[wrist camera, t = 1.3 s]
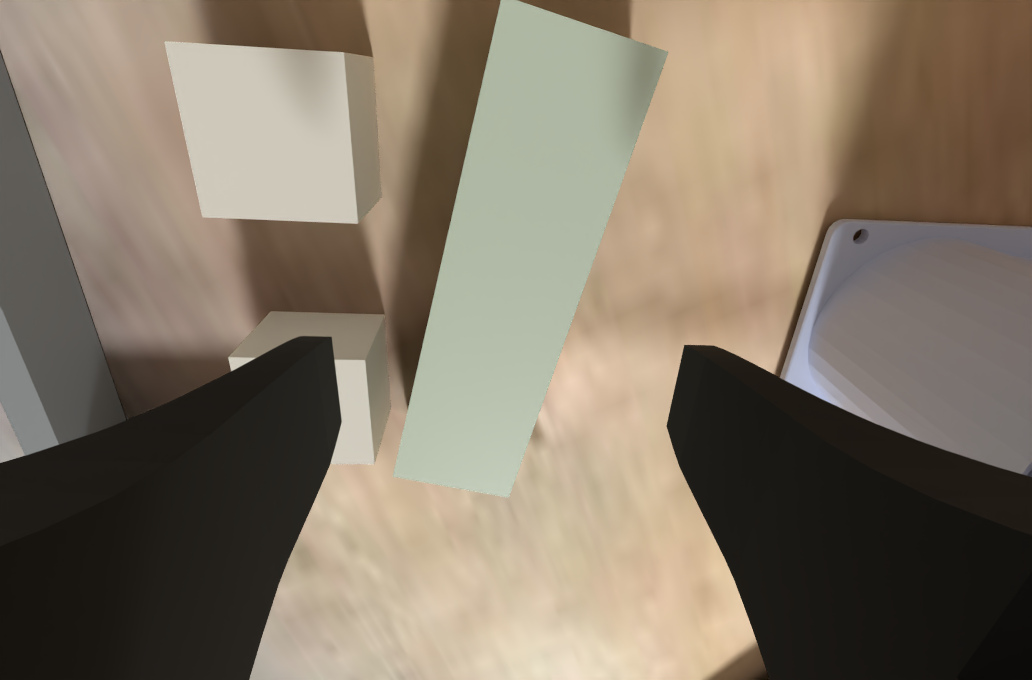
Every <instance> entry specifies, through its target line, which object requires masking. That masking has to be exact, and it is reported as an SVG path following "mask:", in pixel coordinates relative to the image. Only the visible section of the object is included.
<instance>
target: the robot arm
mask: <svg viewBox="0 0 1032 680" xmlns="http://www.w3.org/2000/svg"><path fill="white" fill-rule="evenodd" d="M860 229H861V235H860V236H859V238H857V239H856V240H854V241H853V236H854V234H855V233H856V232H857V231H858V230H860ZM341 423H342V419H341V411H340V402H339V394H338V385H337V377H336V369H335V360H334V352H333V343H332V337H324V336H299V337H296V338H294V339H291V340H289V341H287V342H285V343H283V344H281V345H279V346H277V347H275V348H273V349H272V350H270V351H268V352H266V353H264V354H262V355H261V356H259V357H257V358H255V359H253V360H251V361H249V362H248V363H246V364H244V365H242V366H240V367H238V368H237V369H235V370H233V371H231V372H229V373H227V374H225V375H224V376H222V377H220V378H218V379H216V380H214V381H212V382H210V383H208V384H206V385H203V386H201V387H199V388H197V389H195V390H193V391H191V392H189V393H187V394H185V395H183V396H181V397H179V398H177V399H175V400H173V401H171V402H169V403H166V404H164V405H162V406H160V407H158V408H155V409H153V410H151V411H148V412H146V413H144V414H141V415H139V416H136V417H134V418H131V419H129V420H126V421H124V422H121V423H119V424H116V425H113V426H111V427H108V428H106V429H103V430H100V431H98V432H95V433H92V434H89V435H86V436H83V437H80V438H77V439H74V440H71V441H68V442H65V443H62V444H59V445H56V446H53V447H50V448H47V449H44V450H41V451H38V452H35V453H32V454H29V455H26V456H23V457H20V458H16V459H13V460H10V461H6V462H2V463H0V680H249V678H250V675H251V671H252V668H253V665H254V661H255V658H256V655H257V651H258V648H259V645H260V641H261V638H262V635H263V631H264V628H265V625H266V622H267V619H268V616H269V613H270V610H271V607H272V603H273V600H274V597H275V594H276V591H277V588H278V585H279V582H280V579H281V577H282V574H283V572H284V569H285V567H286V564H287V561H288V559H289V557H290V555H291V552H292V550H293V548H294V546H295V543H296V541H297V539H298V536H299V534H300V532H301V530H302V527H303V525H304V523H305V521H306V518H307V516H308V514H309V512H310V509H311V507H312V505H313V503H314V500H315V498H316V496H317V494H318V491H319V489H320V487H321V484H322V482H323V480H324V477H325V475H326V473H327V470H328V468H329V466H330V463H331V460H332V456H333V453H334V449H335V446H336V442H337V438H338V435H339V431H340V427H341ZM667 429H668V432H669V435H670V439H671V442H672V445H673V449H674V452H675V455H676V458H677V461H678V464H679V466H680V468H681V471H682V473H683V475H684V477H685V479H686V481H687V483H688V485H689V487H690V489H691V491H692V493H693V496H694V498H695V500H696V502H697V504H698V506H699V508H700V510H701V512H702V514H703V516H704V518H705V520H706V522H707V524H708V526H709V528H710V530H711V532H712V534H713V536H714V538H715V540H716V542H717V544H718V546H719V548H720V550H721V552H722V554H723V556H724V558H725V560H726V562H727V565H728V567H729V569H730V571H731V574H732V576H733V578H734V580H735V583H736V586H737V588H738V591H739V594H740V596H741V599H742V602H743V604H744V607H745V610H746V613H747V615H748V618H749V621H750V623H751V626H752V629H753V632H754V635H755V637H756V640H757V643H758V646H759V649H760V652H761V655H762V658H763V661H764V664H765V667H766V670H767V673H768V676H769V679H770V680H1032V227H1030V226H1006V225H983V224H959V223H935V222H911V221H887V220H863V219H841V220H838V221H836V222H834V223H833V224H832V225H831V226H830V227H829V229H828V231H827V233H826V236H825V239H824V242H823V245H822V248H821V251H820V254H819V258H818V261H817V264H816V267H815V270H814V273H813V276H812V279H811V282H810V285H809V289H808V292H807V295H806V298H805V301H804V304H803V307H802V310H801V313H800V317H799V320H798V323H797V326H796V329H795V332H794V335H793V338H792V341H791V344H790V348H789V351H788V354H787V357H786V360H785V363H784V366H783V369H782V372H781V376H780V378H779V377H778V376H776V375H774V374H772V373H770V372H768V371H766V370H764V369H762V368H760V367H758V366H757V365H755V364H753V363H751V362H749V361H747V360H745V359H743V358H741V357H739V356H737V355H735V354H733V353H730V352H728V351H726V350H724V349H721V348H718V347H716V346H706V345H684V349H683V354H682V358H681V363H680V368H679V372H678V377H677V381H676V386H675V390H674V395H673V399H672V404H671V408H670V413H669V417H668V422H667Z"/></svg>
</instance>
